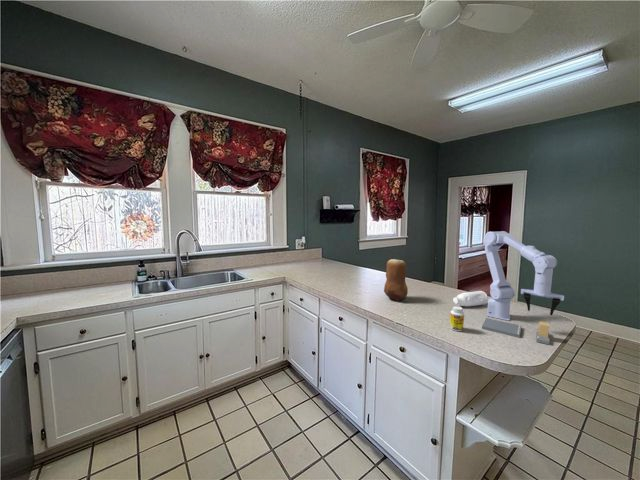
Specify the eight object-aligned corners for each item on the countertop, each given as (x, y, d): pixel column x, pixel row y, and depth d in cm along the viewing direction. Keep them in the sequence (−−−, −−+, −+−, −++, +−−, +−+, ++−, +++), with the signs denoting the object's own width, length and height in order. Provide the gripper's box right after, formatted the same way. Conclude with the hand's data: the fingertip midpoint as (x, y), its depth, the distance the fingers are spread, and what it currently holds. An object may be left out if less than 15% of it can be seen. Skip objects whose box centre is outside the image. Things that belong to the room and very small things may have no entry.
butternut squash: (404, 296, 169) (405, 257, 166) (409, 303, 155) (411, 261, 153) (382, 295, 170) (383, 257, 167) (385, 302, 157) (386, 261, 154)
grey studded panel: (481, 328, 122) (482, 325, 122) (486, 320, 131) (486, 317, 131) (519, 337, 113) (519, 334, 113) (521, 328, 122) (521, 325, 122)
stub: (536, 341, 110) (537, 327, 109) (536, 331, 119) (538, 318, 118) (549, 344, 107) (550, 330, 106) (548, 333, 116) (549, 320, 116)
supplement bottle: (452, 331, 120) (453, 309, 118) (448, 326, 125) (449, 305, 124) (465, 332, 119) (466, 310, 118) (460, 326, 124) (461, 305, 123)
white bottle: (449, 305, 153) (450, 291, 152) (476, 302, 158) (476, 289, 157) (460, 310, 145) (460, 296, 144) (487, 306, 150) (488, 293, 149)
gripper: (521, 281, 117) (518, 310, 119) (565, 288, 108) (562, 319, 110) (522, 278, 123) (519, 306, 124) (564, 284, 113) (561, 314, 115)
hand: (539, 312), depth 117 cm, fingers open, 7 cm apart
